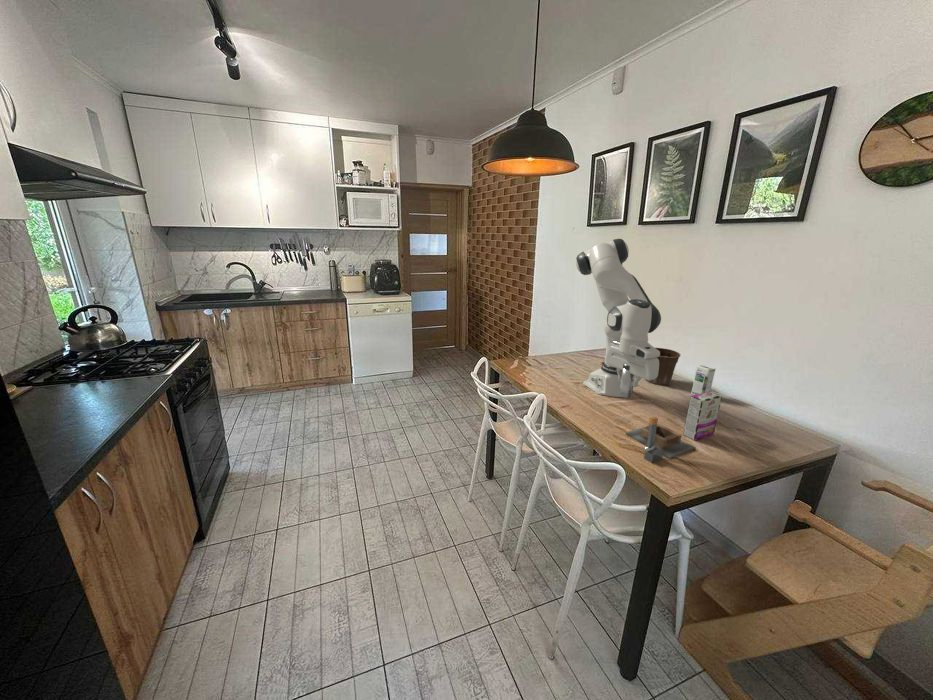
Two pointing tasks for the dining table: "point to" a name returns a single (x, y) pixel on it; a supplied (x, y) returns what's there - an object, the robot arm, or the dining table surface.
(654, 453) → the retainer base
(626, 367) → the steel pin
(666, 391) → the dining table surface
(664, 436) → the hitch block
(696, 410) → the candy bar box
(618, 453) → the dining table surface
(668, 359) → the plant pot
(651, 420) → the bar
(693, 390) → the syrup box
